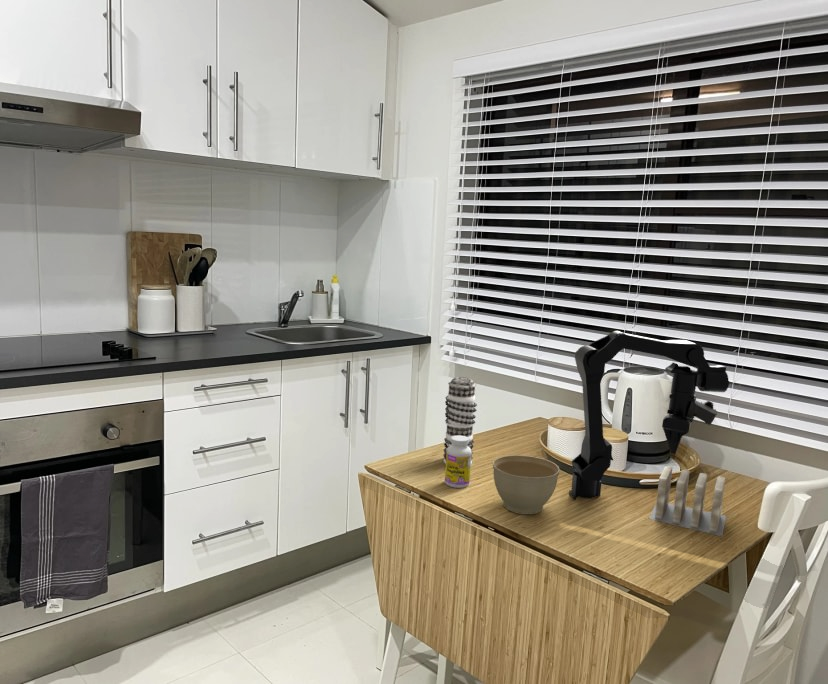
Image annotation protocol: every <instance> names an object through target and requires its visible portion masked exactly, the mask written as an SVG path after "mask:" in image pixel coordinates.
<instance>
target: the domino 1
mask: <svg viewBox="0 0 828 684" xmlns="http://www.w3.org/2000/svg"><path fill="white" fill-rule="evenodd" d="M672 473H673V466H669V465H668V466H667V465H665V466H664V468H663V470H662V473H661V474H660V476H659V479H658V485H657V486H658V487H657V495H656V503H655V505H656V512H655V518H658V519H662V518H663V516H664V514H665V511H666V509H667V507H668V503H670V494H671V493H670V491H671V484H672V475H673V474H672Z"/></svg>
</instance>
